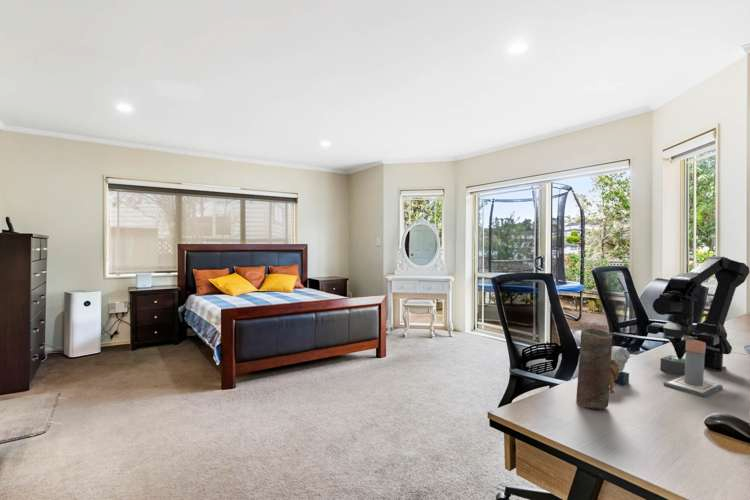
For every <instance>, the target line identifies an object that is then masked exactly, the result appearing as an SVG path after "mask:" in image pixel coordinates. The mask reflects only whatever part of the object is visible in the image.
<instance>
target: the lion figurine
mask: <svg viewBox="0 0 750 500" xmlns="http://www.w3.org/2000/svg"><path fill="white" fill-rule="evenodd" d="M618 374H619V365H618V364H617V361H615V360H613V359H611V367H610V385H609V393H612V394H614V393H615V390H613V389H614V386H615V383H614V381H615V380H616V379H617V378H618Z"/></svg>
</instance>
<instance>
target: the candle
mask: <svg viewBox="0 0 750 500" xmlns="http://www.w3.org/2000/svg"><path fill="white" fill-rule="evenodd" d="M579 344H580V347H579V358H578V373H577V385H576V386H577V387H576V399H575V402H576V403H578V404H579V405H581V406H582V407H584V408H585V407H586V408H587V407H588V408H589V409H590V408H591V409H595V410H603V409H607V408H608V406H609V399H610V398H609V397H610V391H609V388H610V367H611V350H612V347H613V335H612V334H610V333H608V331H605V330H601V329H597V328H582V329H581V333H580V343H579Z"/></svg>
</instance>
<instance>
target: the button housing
mask: <svg viewBox="0 0 750 500" xmlns="http://www.w3.org/2000/svg"><path fill="white" fill-rule="evenodd" d="M672 357H677V355H672V354H671V355H670V354H669V355H668V356H664V357H661V358H660V368H659V370H660V371H662V372H666V373H667V372H668V373H671V374H675V375H678V376H681V375H685V363H682V362H678V361H674V360H671V359H672Z"/></svg>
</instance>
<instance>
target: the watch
mask: <svg viewBox="0 0 750 500" xmlns="http://www.w3.org/2000/svg"><path fill="white" fill-rule="evenodd" d="M630 356H631V355H630V352H629V351H628V350H627V349H626V348H624V347H623V346H618V345H617V346H616V345H612V350H611V359H613V360H615V361H616V362H617V364H618V365H619V374H618V378H617V379H616V380H615V381H614V385H618V386H622V387H624V386H626V385H627V384H629V383H630V372H627V371H626V372H625V371H624V370H625V367H626V366H625V365H626V364H627V363H628V361H629V358H630Z"/></svg>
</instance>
